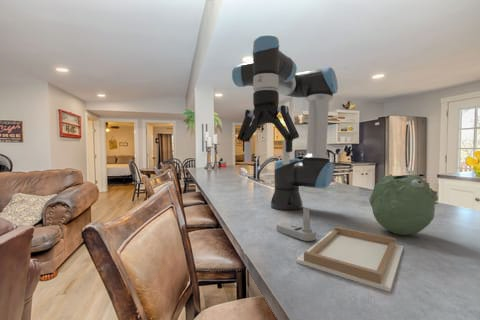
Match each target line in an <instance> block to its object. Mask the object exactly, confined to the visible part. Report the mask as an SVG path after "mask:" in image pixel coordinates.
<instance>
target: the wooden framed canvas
mask: <svg viewBox="0 0 480 320" xmlns="http://www.w3.org/2000/svg"><path fill="white" fill-rule="evenodd" d="M396 239H397V238H395V237H391V236H387V235H382V234H376V233H371V232H365V231H361V230H356V229H350V228H346V227H340V226H335V227H334V230H333V231H332V230H329V232H328V233H327V234H326V235H324V236H323V237H321V238H320V239H319V240H318V241H317V242H315V243H314V244H313V245H311V247H310V248H308V249H307V250H305V251H304V252H303V253H302V254H301V255H300V256H298V257H297V258H296V260H295V261H296V263H298V264H301V265H304V266H307V267H310V268H313V269H317V270H319V271H323V272H326V273H329V274H333V275H335V276H338V277H342V278H345V279H347V280H351V281H354V282H357V283H360V284H363V285H367V286H370V287H373V288H376V289H379V290H382V291H385V292H389V293H391V291H392V289H393V285H394V282H395V278H396V274H397V271H398V268H399V265H400V261H401V257H402V254H403V250H404V246H403V245H398V244H396V241H397V240H396Z"/></svg>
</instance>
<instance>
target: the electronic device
mask: <svg viewBox="0 0 480 320" xmlns="http://www.w3.org/2000/svg"><path fill="white" fill-rule="evenodd" d="M302 209H303V211H302V212H303V215H302V224H303V225H302V226H301V225H298V224H294V223H291V222H287V221H281V222H278V223H276V231H277V232H278V233H281V234H284V235H287V236H289V237H292V238H295V239H298V240H301V241H305V242H312V241H315V240H316V238H317V235H316V234H317V233H316V230H314V229H313V228H311V218H310V208H309V207H302Z"/></svg>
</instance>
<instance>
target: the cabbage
mask: <svg viewBox="0 0 480 320" xmlns="http://www.w3.org/2000/svg"><path fill="white" fill-rule="evenodd" d="M430 186H431V185H430V183H429V182H427V181H425V180H424V179H423V178H422V176H420V175H419V174H416V173H413V174H412V175H408V174H405V175H404V174H403V175H392V174H389V175H387V176H383V177H382V178H381V179H379V181H377V182H376V183H375V186H374V188H373V189H372V193H371V195H370V197H369V203H370V206H371V208H372V210H371V211H372V215H373V217H374V218H375V220H376V221H377V223H378V224H379V225H380V226H381V227H382V228H383V229H385V230H387V231H389V232H390V233H393V234H395V235H397V236H398V235H399V236H410V235H416V234H418V233H419V232H421V231H423V230H424V229H425V228H427V227H428V226H429V225H430V224H431V222H432V221H433V219H434V218H435V211H436V205H437V204H438V202H437V201H439V197H438V191H436V190H433V189H432V188H431V187H430Z"/></svg>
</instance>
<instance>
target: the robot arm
mask: <svg viewBox="0 0 480 320" xmlns="http://www.w3.org/2000/svg"><path fill="white" fill-rule="evenodd" d="M252 46H253V49H252V61H251V62H247V63H240V64H238V65H236V66H235V67H234V68H233V69H232V71H231V79H232V82H233V83H234V85H235V86H236V87H239V88H240V87H241V88H243V87H244V88H245V87H248V86H249V87H250V86H251V87H252V89H253V94H252V95H253V96H252V99H253V101H252V104H253V107H254V108H253V110H250V109H246V110H245V112H244V113H245V114H244V118H243V122H242V124H241V126H240V130H239V132H238V135H237V140H239V141H241V142H242V151H243V153H244V159H243V160H244V163H247V164H248V163H252V159H253V157H252V141H251V139H252V138H253V135H254V134H255V133H256V131H257V130H258V128H259V126H261V125H262V124H263V125H266V124H273V125H274V127H275V128H276V129H277V131H278V132H279V133H280V134H281V136H282V137H283V138H284V140H282V159H280V160H276V161H275V163H274V171H273V172H274V189H273V190H274V191H273V195H272V197H271V200H270V207H271V208H272V209H275V210H280V211H298V210H301V209H303V208H304V207H303V201H302V197H301V194H300V187H303V188H313V189H327V188H328V187H330V185H331V183H332V181H333V178H334V171H335V169H334V168H335V167H334V164H333V162H330V160H331V159H330V157H329V156H328V155H327V149H328V148H327V145H328V127H329V126H328V123H329V108H330V107H329V105H330V104H329V103H330V102H331V101H332V100H333V96H334V94H336V93H338V90H339V89H338V79H337V75H336V73H335V70H334V69H333V67H331V66H330V67H329V66H327V67H320V68H316V69H312V70H306V71H300V72H297V68H298V67H297V64H296V62H295V61H294V60H293V59H292V58H291V57H289V56H287V55H286V54H284V53H283V52H282V51H281V50H280V41H279V38H278V36H275V35H274V34H262V35H260V36H257V37H255V38H254V39H253V45H252ZM279 95H283V96H286V97H292V98H299V99H300V98H305V100H306V101H307V102H308V117H307V118H308V119H307V133H306V134H307V138H306V153H305V155H304V156H302V161H301V160H300V159H299V158H290V156H291V155H290V153H292V152H293V141H294V140H295V139H299V137H300V133H298V131H297V128H296V126H295V123H294V121H293V119H292V117H291V114H290V112H289V111H290V110H289V107H288V106H287V105H285V104H284V105H283V104H282V105H280V106H279V102H280V97H279ZM279 114H280V116H281V117H282V119H283V122H284V124H285V125H284V124H283V123H282V121H281V119H280V118H279V116H278V115H279ZM285 126H286V127H285Z"/></svg>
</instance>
